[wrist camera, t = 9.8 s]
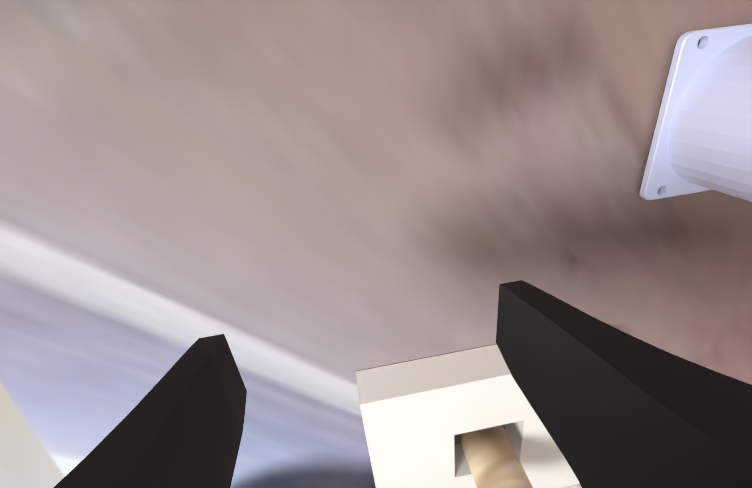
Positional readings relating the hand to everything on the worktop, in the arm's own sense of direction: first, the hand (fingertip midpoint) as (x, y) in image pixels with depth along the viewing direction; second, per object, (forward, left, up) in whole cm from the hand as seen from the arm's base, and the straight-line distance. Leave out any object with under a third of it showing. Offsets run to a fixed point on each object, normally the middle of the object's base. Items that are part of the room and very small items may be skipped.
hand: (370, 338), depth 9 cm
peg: (-7, +18, -9) cm, 21 cm away
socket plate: (-7, +18, -9) cm, 21 cm away
